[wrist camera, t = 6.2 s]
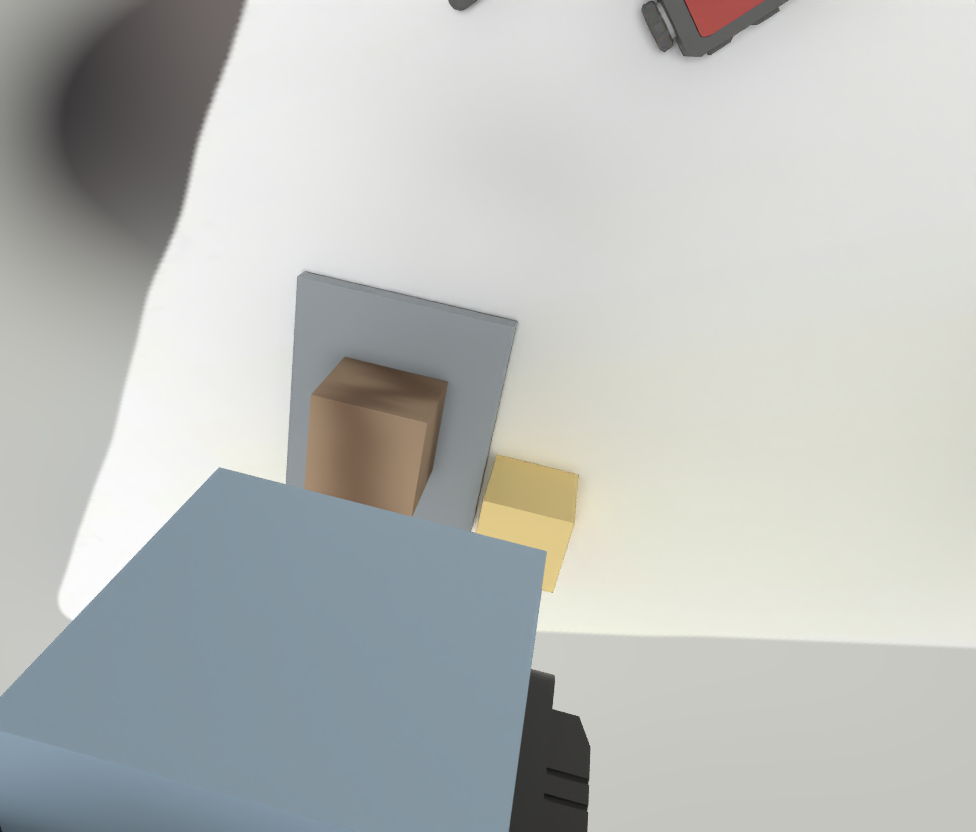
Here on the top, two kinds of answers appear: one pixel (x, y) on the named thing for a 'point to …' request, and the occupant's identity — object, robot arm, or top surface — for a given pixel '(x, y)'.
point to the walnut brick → (374, 435)
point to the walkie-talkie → (695, 21)
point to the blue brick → (282, 677)
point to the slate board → (412, 348)
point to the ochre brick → (531, 510)
